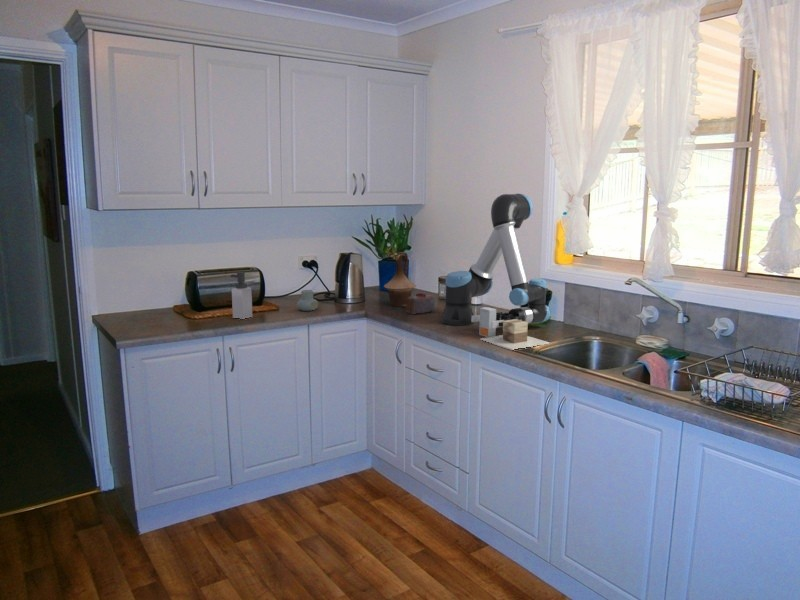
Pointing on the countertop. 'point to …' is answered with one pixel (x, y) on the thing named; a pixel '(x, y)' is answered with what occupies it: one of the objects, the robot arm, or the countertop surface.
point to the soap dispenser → (241, 298)
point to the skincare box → (487, 322)
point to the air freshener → (307, 301)
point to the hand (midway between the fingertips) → (481, 321)
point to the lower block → (515, 337)
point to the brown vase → (400, 282)
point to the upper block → (515, 326)
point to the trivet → (511, 346)
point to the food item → (420, 304)
